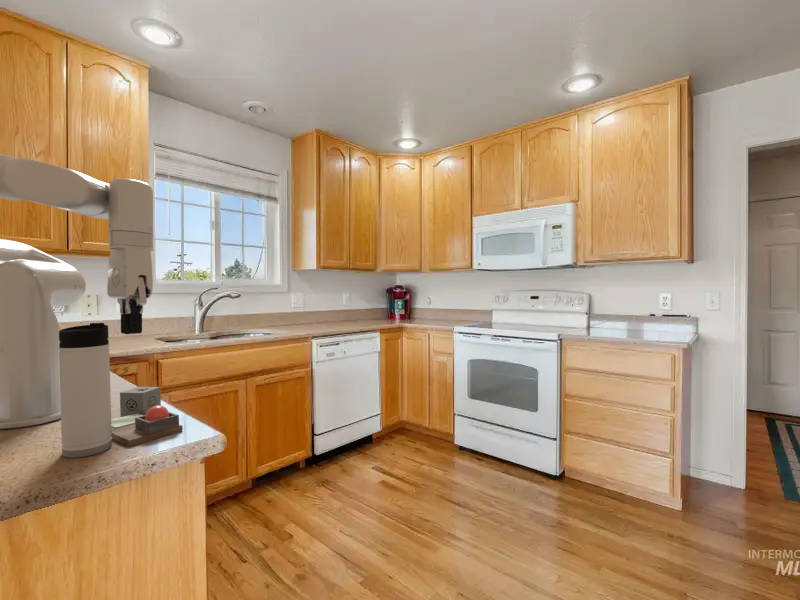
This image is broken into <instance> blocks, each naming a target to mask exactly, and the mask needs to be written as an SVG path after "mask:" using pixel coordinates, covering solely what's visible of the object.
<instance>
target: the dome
mask: <svg viewBox="0 0 800 600" xmlns="http://www.w3.org/2000/svg"><path fill="white" fill-rule="evenodd" d="M169 412H170V411H169V410H168V408H167V407H166V406H164V405H162V404H161V405H157V406H153V407H151V408H150V409H149V410H148V411H147V412H146V415H145V420H147V421H150V422H151V421H155V420H159V419H163V418H167V417H169Z"/></svg>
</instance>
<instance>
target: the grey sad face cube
mask: <svg viewBox="0 0 800 600" xmlns="http://www.w3.org/2000/svg"><path fill="white" fill-rule="evenodd" d="M161 394H162V393H161V387H160V386H136V387H134V388H131V389H127V390H124V391H121V392H119V405H120V406H119V409H120V410H119V411H120V412H119V413H120V417H124V416H128V415H132V414H137V413H143V412H144V413H146V412H147V411H148V410H149V409H150V408H151V407H153V406H157V405H161V406H162V400H161V398H162V397H161Z"/></svg>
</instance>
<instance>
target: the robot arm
mask: <svg viewBox="0 0 800 600" xmlns="http://www.w3.org/2000/svg"><path fill="white" fill-rule="evenodd" d="M153 190H154V189H153V188H152V186H151V185H150V184H148V183H147V182H144V181H141V180H139V179H138V180H137V179H131V178H114V179H112V180H110V182H109V183H107V182H104V181H101V180H98V179H96V178H94V177H92V176H89V175H87V174H84V173H82V172H79V171H76V170H73V169H70V168H67V167H64V166H63V167H62V166H60V165H55V164H50V163H46V162H42V161H38V160H34V159H30V158H22V157H16V156H11V155H7V154H4V153H3V154H2V153H0V199H3V200H7V201H11V202H18V201H22V200H23V201H27V202H31V203H34V204H35V203H36V204H40V205H44V206H48V207H52V208H56V209H61V210H64V211H66V212H67V211H68V212H72V213H76V214H78V215H82V216H86V217H89V218H92V219H96V220H97V219H98V220H108V249H109V250H110V253H109V258H108V259H109V260H108V268H107V270H108V271H107V290H106V292H107V293H106V294H107V296H108V297H109V298H111V299H116V300H117V304H118V305H119V312H120V333H121V334H122V335H133V334H135V335H137V334H141V333H142V332H143V313H144V306H145V305H146V304H147V302H148V301H147V299H149V298H150V297H151V296H152V295H153V289H154V288H153V287H154V286H153V285H154V283H153V281H154V279H153V278H154V277H153V276H154V275H153V263H152V254H151V252H153V251H154V191H153ZM86 285H87V284H86V280H85V277H84V276H83V275H82V273H81V272H80V271H79V270H78V269H77V268H76V267H74V266H73V265H71V264H69V263H68V262H64V261H63V260H61V259H59V258H56V257H54V256H52V255H50V254H48V253H46V252H44V251H41V250H40V249H38V248H35V247H33V246H31V245H28V244H26V243H23V242H19V241H16V240H13V239H11V240H10V239H4V238H0V430H5V429H17V428H24V427H30V426H36V425H41V424H46V423H50V422H53V421H57V420H58V421H59V420H61V400H60V368H59V352H60V351H59V343H60V341H59V331H60V330H61V329H60V325H59V320H58V318H57V316H56V314H55V311H54V309H53V308H56V307H66V306H71V305H72V304H75V303H77V302H78V301H79V300H80V299H81V298H82V297H84V294H85V293H86V288H87V287H86Z"/></svg>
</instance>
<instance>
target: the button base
mask: <svg viewBox="0 0 800 600" xmlns="http://www.w3.org/2000/svg"><path fill="white" fill-rule="evenodd" d="M168 412H169V417H167V418H163V419H159V420H155V421H151V422H150V421H147V420H145V415H146V413H144V412H143V413H137V414H132V415H128V416H124V417H121V416H120V417H116V418H111V429H112V435H111V437H112V440H113V441H116V442H118V443H121V444H123V445H125V446H127V447H132V446H137V445H140V444H143V443H147V442H149V441H153V440H156V439H160V438H164V437H167V436H170V435H174V434H178V433H181V432H183V431H182V430H183V427H184V426H183V425H182V424H180V415H179V414H177V413H174V412H170V411H168ZM180 431H181V432H180ZM177 432H178V433H177Z"/></svg>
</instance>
